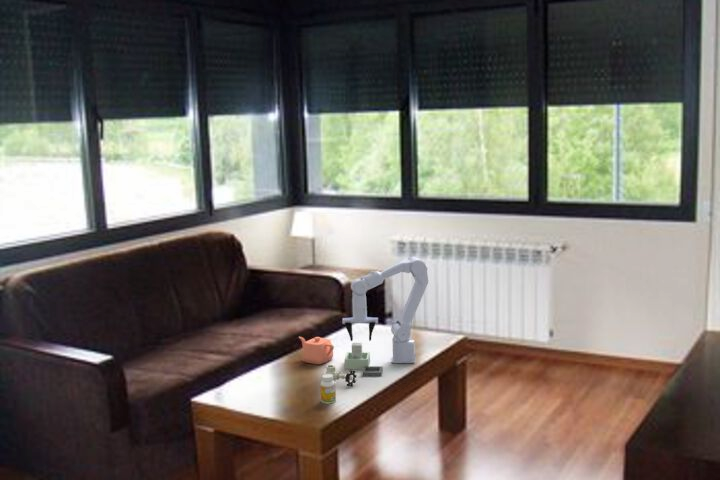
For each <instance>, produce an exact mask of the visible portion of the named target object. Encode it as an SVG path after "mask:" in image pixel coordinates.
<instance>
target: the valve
mask: <svg viewBox="0 0 720 480" xmlns="http://www.w3.org/2000/svg"><path fill="white" fill-rule="evenodd" d="M348 372H349V373H346V374H344V373H342V374H341V372H340V371H337V370H336V365H334V364H328V365H326V370H325V374H332V375H333V381H335V382H337V380H344V381H345V382H346V386H347V387H354V384H356V382H357V381H356V378H357V377H358V375H357V374H356V370H355V369H348Z"/></svg>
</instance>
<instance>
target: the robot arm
mask: <svg viewBox="0 0 720 480" xmlns="http://www.w3.org/2000/svg"><path fill="white" fill-rule="evenodd" d="M400 273H405V274H411V275H412V277H413V279H414V283H413V286H412V289H411V290H410V292H409V294H408V297H407V300H406V302H405V304H404V306H403V309H402V312H401V314H400V316H398V317H397V319H396V321H395V322H394V323H393V324H392V325H391V328H390V331H391V334H392V335H393V337H392V339H391V341H392V356H391V357H392V358H391V364H414V363H415V358H416V349H415V340H414V339H410V338H411V332H412V331H411V330H412V328H413V320H414V317H415V315H416V312H417V311H418V307H419V306H420V302H422V298H423V296H424V293H425V291H426V289H427V287H428V284H429V275H428V267H427V265H426V263H425V262H424V261H423V260H421V259H419V258H418V257H417V256H414V255H413V256H410V257H408V258H405V259H402V260H401V261H399V262H397V263H394V264H393V265H392V266H389V267H388V268H386V269H385V268H384V270H382V271H378V270H375V271H374V270H371V271H370V273H368V274H366V275H364V276H360V278H355V279H353V280H352V281H351V283H350V289H351V291H352V294H351V295H352V300H351V301H352V317H343V318H342V321H341V322H342V324H343V325H344V327H345V329H346V331H347V333H348V336H349V339H350V342H352V341H354V340H353V339H354V336H353V324H368V329H369V330H368V332H369V333H368V341H372V334H373V333H374V332H373V331H374V328H375V326H376V324H378V323H379V317H371V316H368V310H367V309H368V306H367V296H366V293H367V292H368V291H369V290H371V289H374V288H375V287H378V286H379V285H383V283H384V280H385V279H389V278H391V277H393V276H396V275H398V274H400Z"/></svg>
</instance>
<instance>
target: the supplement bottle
mask: <svg viewBox="0 0 720 480" xmlns="http://www.w3.org/2000/svg"><path fill="white" fill-rule="evenodd" d="M321 379H322V381H321V382H320V401H321V402H322V404H326V405H327V404H328V405H329V404H334V403H335V402H336V400H337V396H336V395H337V394H336V383H335V381H333V375H332V374H326V373H325V374H323V375H322V376H321Z"/></svg>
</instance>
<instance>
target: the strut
mask: <svg viewBox="0 0 720 480" xmlns="http://www.w3.org/2000/svg"><path fill="white" fill-rule="evenodd" d="M351 352H352V359H363V356H362V352H363V343H362V342H352V343H351Z"/></svg>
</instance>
